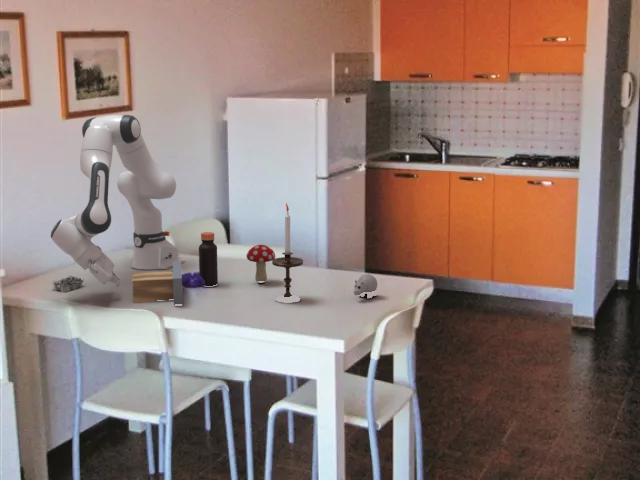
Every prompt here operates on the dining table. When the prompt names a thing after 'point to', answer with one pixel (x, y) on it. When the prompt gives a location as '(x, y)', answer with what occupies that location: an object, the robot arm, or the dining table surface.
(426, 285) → the dining table surface
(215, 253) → the bottle
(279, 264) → the candlestick
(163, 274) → the oak block
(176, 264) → the slate board
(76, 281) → the egg carton
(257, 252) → the decorative mushroom
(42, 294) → the dining table surface
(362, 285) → the round bodied animal figurine
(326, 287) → the dining table surface
